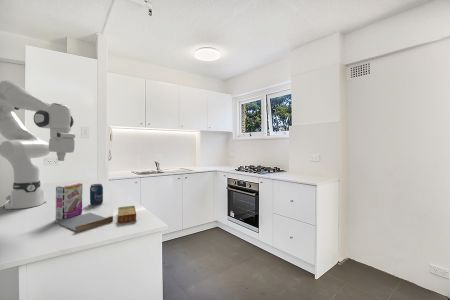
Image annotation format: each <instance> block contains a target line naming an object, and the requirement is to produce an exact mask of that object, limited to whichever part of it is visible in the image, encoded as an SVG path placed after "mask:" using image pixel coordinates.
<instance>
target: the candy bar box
mask: <svg viewBox="0 0 450 300" xmlns="http://www.w3.org/2000/svg"><path fill="white" fill-rule="evenodd" d="M81 213H83V183H81V182H75V183H74V182H73V183H69V184H63V185H58V186H55V220H57V221H59V220H63V219H67V218H71V217H73V216H74V217H75V216H76V215H77V216H79V215H82V214H81ZM78 214H79V215H78Z"/></svg>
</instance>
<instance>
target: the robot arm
mask: <svg viewBox="0 0 450 300" xmlns="http://www.w3.org/2000/svg"><path fill="white" fill-rule="evenodd" d="M15 110H16V111H18V110H24V111H31V112H35V113H34V116H33V123H34V124H35V125H36V126H37V127H38V128H42V129H49V140H48V142H47V141H45V140H42V139H40V138H39V137H37V136H36V135H35V134H33V133H32V132H31V131H29V130H28V129H27V127H26V126H25V125H24V124H23V121H21V119H20V118H19V116H17V114H16V113H15ZM73 125H74V118H73V116H72V115H71V109H70V107H69V106H68V105H66V104H62V103H54V102H53V103H51V104H50V103H48V102H46V101H44V100H43V99H41V98H39V97H38V96H37V95H36V96H35V95H34V94H33V93H32V92H29V90H27V89H26V88H24V87H23V86H22V85H20V84H18V83H16V82H14V81H11V80H2V81H0V134H1V135H2V137H4V138H5V139H6V140H5V141H2V142H1V143H0V156H1V157H2V158H4V159H6V160H7V161H8V162H9V164H11V166H12V169H13V183H12V190H11V192H10V193H9V194H8V195H6V196H5V200H6V202H4V203H3V206H4V208H5V210H12V209H13V210H14V209H15V210H17V209H26V208H32V207H33V208H34V207H38V206H40V205H41V206H42V205H43V204H46V203H47V202H48V200H47V199H45V196H44V195H45V194H44V189H43V188H41V180H40V169H39V167H38V165H35V164H33V162H32V160H31V159H36V158H41V157H42V158H43V157H45V156H48V155H49V154H50V153H56V156H57V157H56V158H57V161H59V162H63V161H65V157H66V154H67V153H70V154H71V153H74V152H75V143H76V141H75V138H76V134H75V133H74V132H73V131H72V127H73Z"/></svg>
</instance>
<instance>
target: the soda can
mask: <svg viewBox="0 0 450 300" xmlns="http://www.w3.org/2000/svg"><path fill="white" fill-rule="evenodd" d="M103 202H104V187H103V184H102V183H92V184H91V185H90V187H89V203H90V205H91V206H99V205H102V204H103Z"/></svg>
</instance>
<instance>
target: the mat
mask: <svg viewBox="0 0 450 300" xmlns="http://www.w3.org/2000/svg"><path fill="white" fill-rule="evenodd" d="M102 218H106V216H102V215H99V214H96V213H93V212H87V213H84V214H79V215H77V216H74V217H71V218H67V219H63V220H57V221H54V223H55V224H56V223H57V224H56V225H58V226H61V227H64V228H65V227H66V229H67V230H70V231H73V232H75V226H78V225H82V224H85V223H89V222H92V221H96V220H99V219H102Z"/></svg>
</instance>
